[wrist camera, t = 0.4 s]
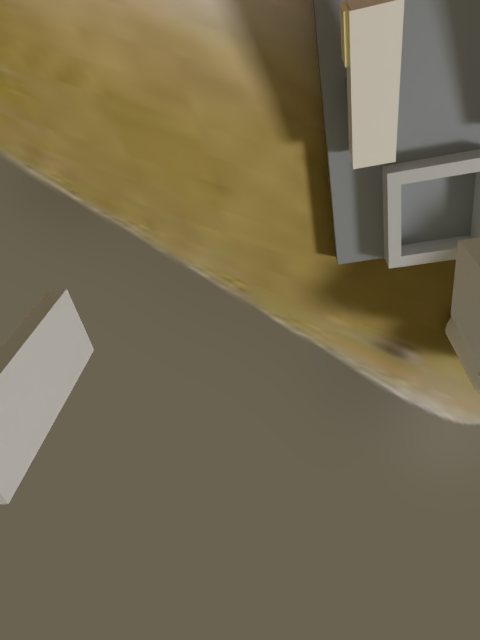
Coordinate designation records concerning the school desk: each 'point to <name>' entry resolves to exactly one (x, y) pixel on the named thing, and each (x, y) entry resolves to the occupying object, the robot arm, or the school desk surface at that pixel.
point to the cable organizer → (464, 353)
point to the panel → (409, 140)
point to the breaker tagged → (372, 77)
